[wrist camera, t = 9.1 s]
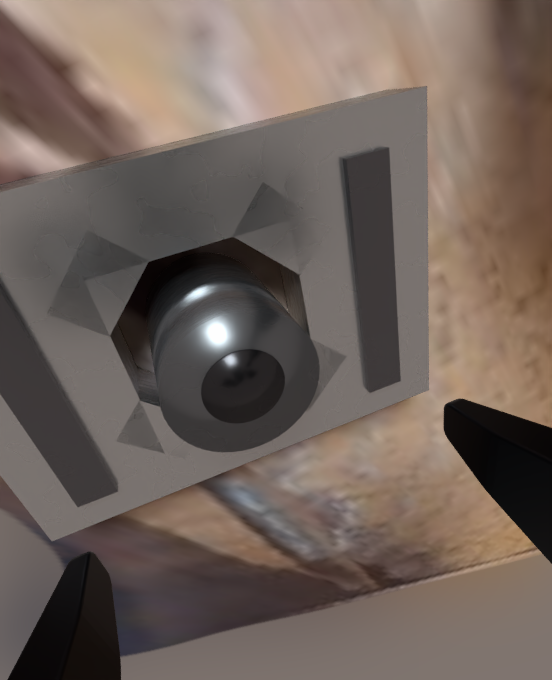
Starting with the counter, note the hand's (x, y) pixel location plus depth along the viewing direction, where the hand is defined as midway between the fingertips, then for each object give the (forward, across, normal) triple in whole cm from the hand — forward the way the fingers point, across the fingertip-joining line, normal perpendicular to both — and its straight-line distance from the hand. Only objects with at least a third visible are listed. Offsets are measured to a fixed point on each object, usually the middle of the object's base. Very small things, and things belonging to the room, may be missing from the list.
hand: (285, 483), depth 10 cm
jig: (+10, 0, 0) cm, 10 cm away
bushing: (+10, 0, 0) cm, 10 cm away
